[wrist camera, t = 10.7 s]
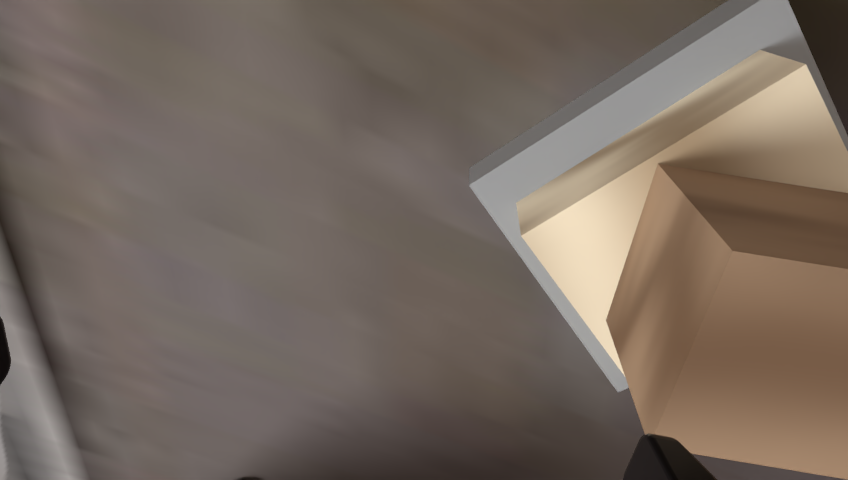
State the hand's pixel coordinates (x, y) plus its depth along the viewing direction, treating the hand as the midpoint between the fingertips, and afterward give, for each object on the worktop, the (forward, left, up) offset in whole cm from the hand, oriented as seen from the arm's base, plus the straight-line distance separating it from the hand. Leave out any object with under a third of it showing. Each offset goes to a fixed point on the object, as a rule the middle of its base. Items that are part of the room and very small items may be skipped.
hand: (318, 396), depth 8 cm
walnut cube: (+6, -7, -9) cm, 13 cm away
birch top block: (+6, -7, -11) cm, 15 cm away
